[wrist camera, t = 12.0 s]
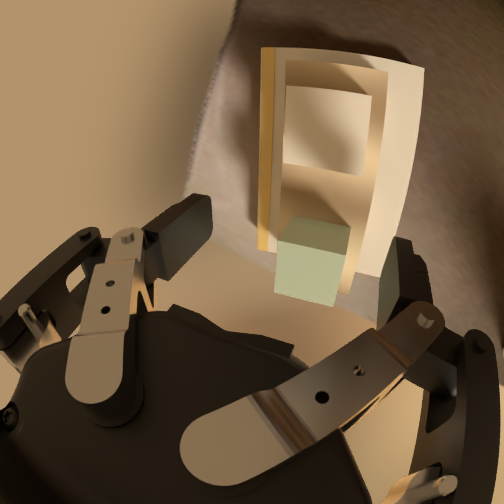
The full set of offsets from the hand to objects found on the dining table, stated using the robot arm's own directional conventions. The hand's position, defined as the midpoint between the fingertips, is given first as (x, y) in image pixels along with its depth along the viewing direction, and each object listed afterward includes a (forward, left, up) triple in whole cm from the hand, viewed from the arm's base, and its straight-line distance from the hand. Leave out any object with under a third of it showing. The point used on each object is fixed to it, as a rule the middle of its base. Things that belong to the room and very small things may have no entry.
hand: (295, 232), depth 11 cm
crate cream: (-4, 0, -7) cm, 8 cm away
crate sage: (+5, 0, -7) cm, 8 cm away
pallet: (0, 0, -11) cm, 11 cm away
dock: (0, 0, -13) cm, 13 cm away
